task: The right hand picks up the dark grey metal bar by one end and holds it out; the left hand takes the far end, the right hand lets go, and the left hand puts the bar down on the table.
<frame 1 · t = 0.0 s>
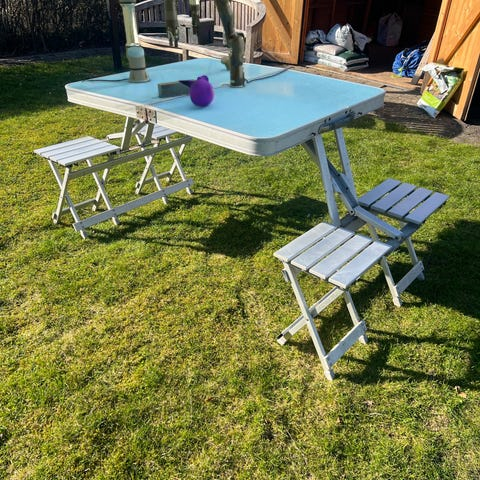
left hand: (196, 35, 349), 28 cm above the table, tool pointing down, fingers open, 13 cm apart
right hand: (173, 47, 283), 29 cm above the table, tool pointing down, fingers open, 8 cm apart
bar: (178, 94, 298), on the table
toy: (198, 104, 273), on the table
teapot: (232, 69, 374), on the table
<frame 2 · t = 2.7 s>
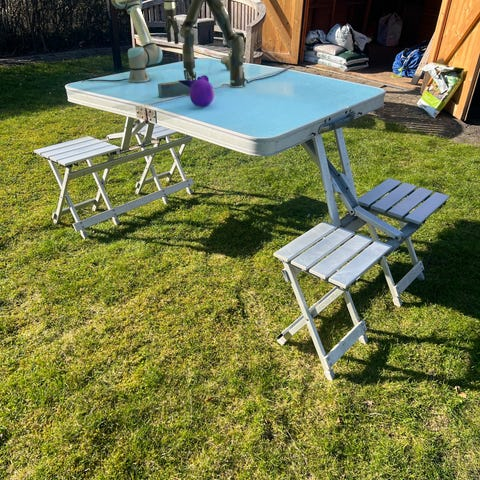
left hand: (173, 43, 316), 27 cm above the table, tool pointing down, fingers open, 13 cm apart
right hand: (190, 87, 301), 4 cm above the table, tool pointing down, fingers closed on bar, 5 cm apart
bar: (178, 94, 298), on the table, touching right hand
everything else where it was.
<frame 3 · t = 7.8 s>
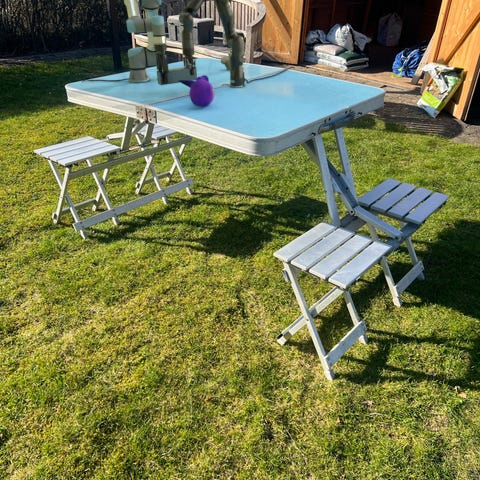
left hand: (163, 82, 289), 9 cm above the table, tool pointing down, fingers closed on bar, 5 cm apart
right hand: (190, 74, 297), 12 cm above the table, tool pointing down, fingers closed on bar, 5 cm apart
bar: (177, 81, 294), point 8 cm above the table, touching left hand, right hand
everything else where it was.
when the right hand's fingers open (12 cm above the table, at t = 8.6 s): bar stays where it is, held by the left hand.
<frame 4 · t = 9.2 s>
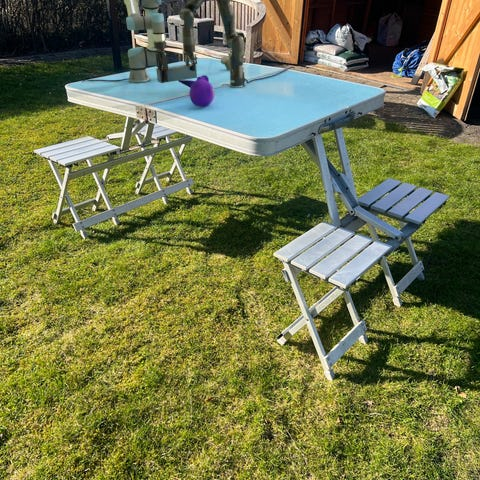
left hand: (163, 80, 289), 10 cm above the table, tool pointing down, fingers closed on bar, 5 cm apart
right hand: (191, 70, 296), 14 cm above the table, tool pointing down, fingers open, 8 cm apart
bar: (177, 79, 294), point 9 cm above the table, touching left hand
everything else where it was.
when the left hand's fingers open (2 cm above the table, at t = 19.1 s): bar drops 1 cm, on the table.
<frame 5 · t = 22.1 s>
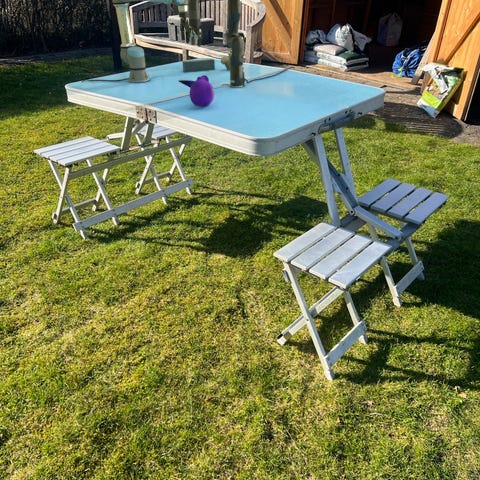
left hand: (185, 41, 359), 23 cm above the table, tool pointing down, fingers open, 13 cm apart
right hand: (196, 45, 290), 29 cm above the table, tool pointing down, fingers open, 8 cm apart
bar: (199, 70, 374), on the table
everything else where it was.
at the end: bar inside the target area (9.7 cm from its centre), on the table; the left hand is holding nothing; the right hand is holding nothing; bar at rest at the end (0.0 cm/s) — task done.
